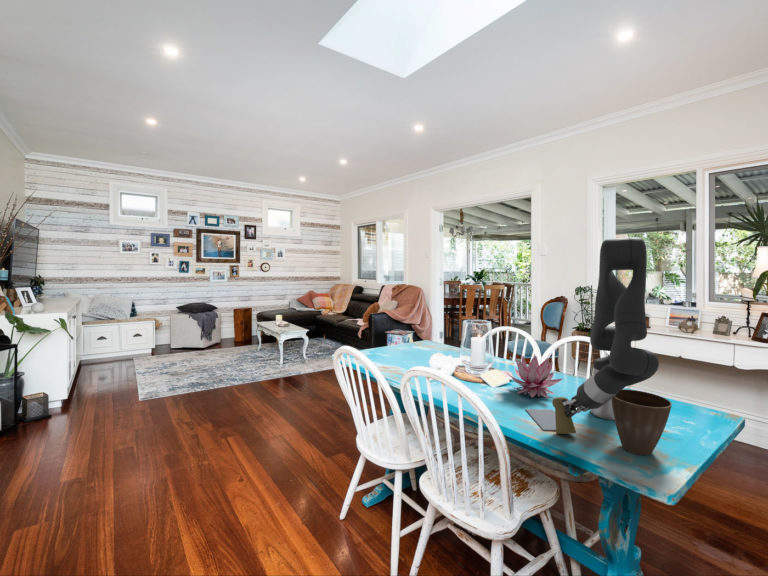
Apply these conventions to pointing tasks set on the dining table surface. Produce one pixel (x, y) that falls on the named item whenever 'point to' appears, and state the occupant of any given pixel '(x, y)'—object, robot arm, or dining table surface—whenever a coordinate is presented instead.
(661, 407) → the plant pot
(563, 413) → the cork
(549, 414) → the mat
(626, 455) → the dining table surface
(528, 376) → the decorative flower
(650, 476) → the dining table surface
